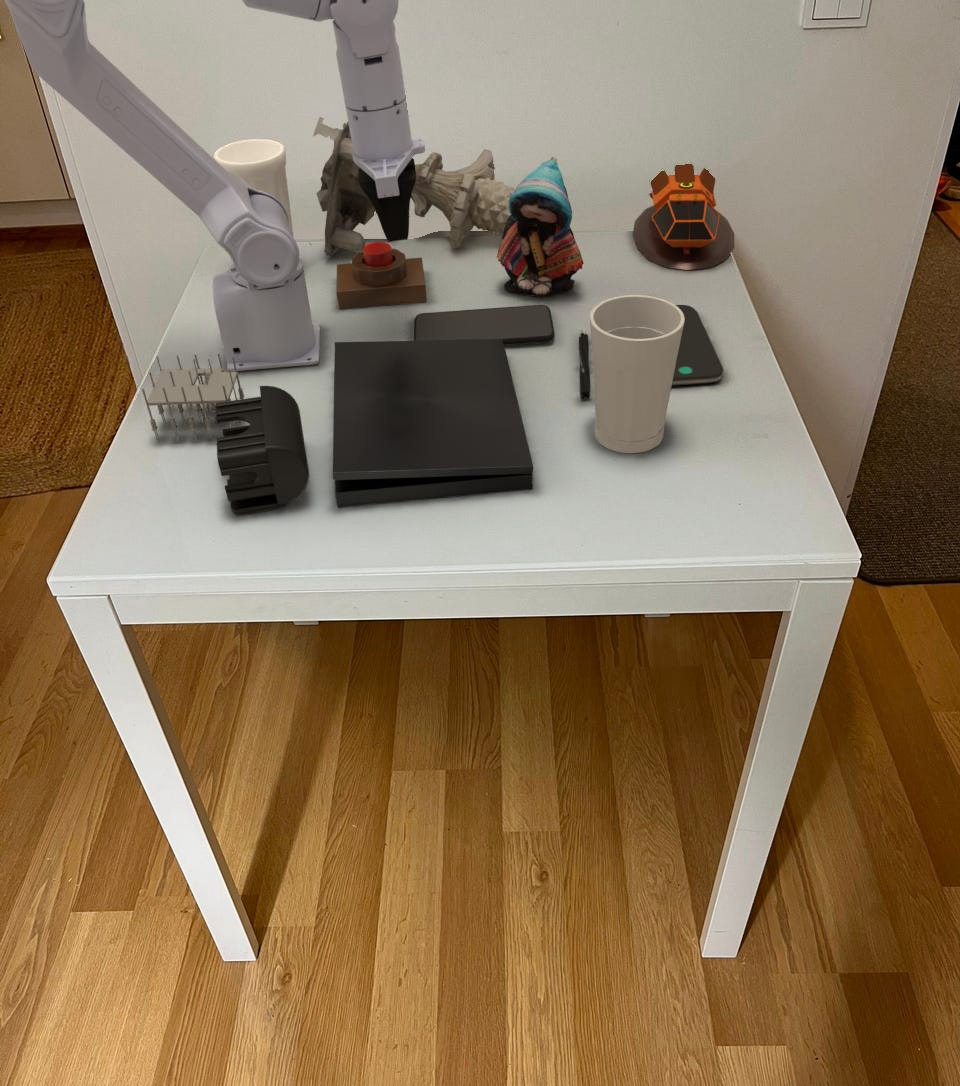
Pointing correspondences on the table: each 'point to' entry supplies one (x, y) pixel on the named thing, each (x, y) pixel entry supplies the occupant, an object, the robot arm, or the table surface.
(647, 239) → the toy spacecraft
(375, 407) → the laptop screen
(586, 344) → the black pen
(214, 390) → the building frame
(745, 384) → the table surface
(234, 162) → the cup
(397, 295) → the switch block
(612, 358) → the cup
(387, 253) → the button
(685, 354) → the smartphone
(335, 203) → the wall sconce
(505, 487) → the laptop
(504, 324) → the smartphone
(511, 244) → the figurine
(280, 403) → the end cap
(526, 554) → the table surface
